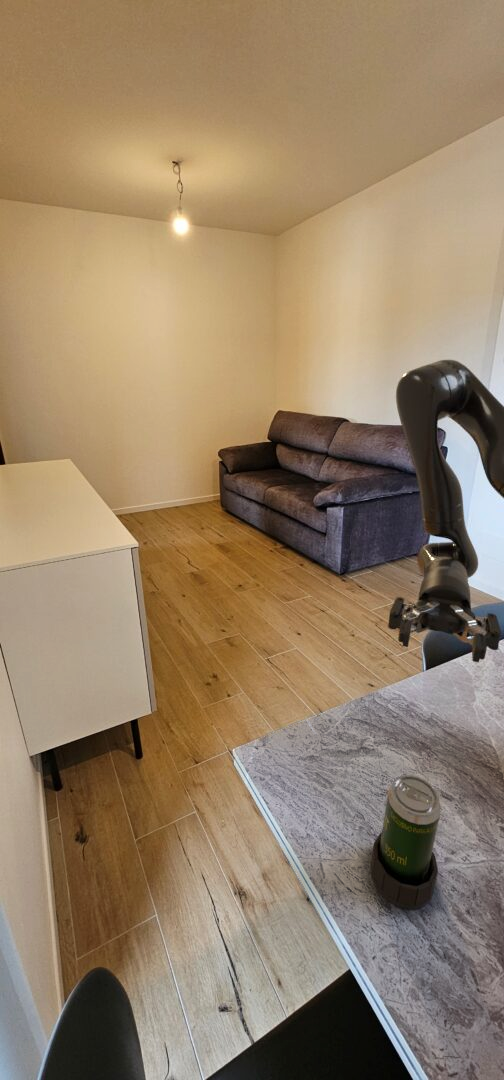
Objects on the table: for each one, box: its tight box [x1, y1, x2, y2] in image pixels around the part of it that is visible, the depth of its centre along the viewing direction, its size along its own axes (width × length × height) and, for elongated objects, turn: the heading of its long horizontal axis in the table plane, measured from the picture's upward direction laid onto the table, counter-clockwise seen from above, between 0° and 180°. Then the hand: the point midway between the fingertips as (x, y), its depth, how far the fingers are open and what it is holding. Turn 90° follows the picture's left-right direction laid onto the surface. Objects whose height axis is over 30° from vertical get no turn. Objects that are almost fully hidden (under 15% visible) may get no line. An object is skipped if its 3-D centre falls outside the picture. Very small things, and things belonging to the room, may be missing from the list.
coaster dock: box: [370, 831, 439, 911], centre depth 52 cm, size 7×7×3 cm
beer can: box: [378, 774, 442, 886], centre depth 50 cm, size 5×5×12 cm
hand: (440, 648), depth 58 cm, fingers open, 8 cm apart
